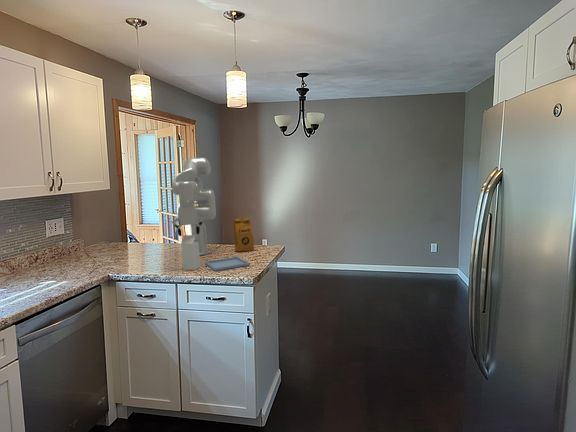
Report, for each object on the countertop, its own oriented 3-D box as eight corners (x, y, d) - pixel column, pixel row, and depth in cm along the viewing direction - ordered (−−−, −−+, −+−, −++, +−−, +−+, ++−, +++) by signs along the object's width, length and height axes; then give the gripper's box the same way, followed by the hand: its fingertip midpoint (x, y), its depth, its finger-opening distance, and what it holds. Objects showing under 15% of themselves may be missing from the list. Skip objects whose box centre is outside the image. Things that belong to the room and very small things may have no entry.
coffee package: (255, 251, 259) (253, 218, 257) (236, 253, 256) (234, 219, 253) (252, 248, 269) (250, 216, 266) (234, 250, 265) (232, 218, 263)
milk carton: (194, 270, 215) (192, 236, 213) (183, 270, 217) (180, 236, 214) (200, 267, 222) (197, 234, 220) (188, 267, 224) (186, 234, 221)
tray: (205, 264, 228) (204, 261, 228) (237, 259, 237) (237, 256, 237) (215, 271, 210) (215, 268, 210) (249, 265, 219) (249, 262, 219)
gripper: (200, 202, 222) (202, 232, 224) (169, 205, 214) (171, 235, 216) (204, 203, 216) (206, 234, 217) (172, 205, 208) (174, 237, 210)
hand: (189, 234), depth 217 cm, fingers open, 9 cm apart
